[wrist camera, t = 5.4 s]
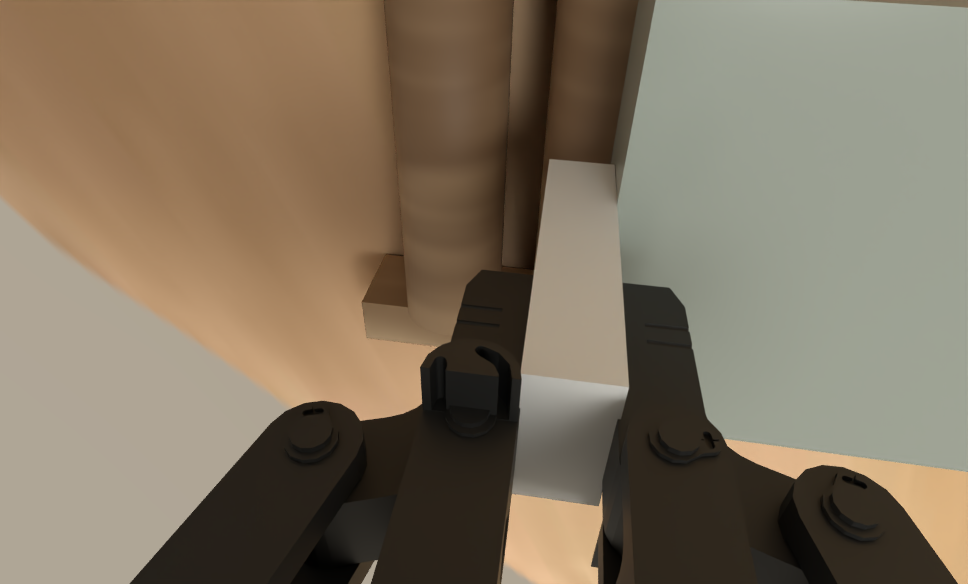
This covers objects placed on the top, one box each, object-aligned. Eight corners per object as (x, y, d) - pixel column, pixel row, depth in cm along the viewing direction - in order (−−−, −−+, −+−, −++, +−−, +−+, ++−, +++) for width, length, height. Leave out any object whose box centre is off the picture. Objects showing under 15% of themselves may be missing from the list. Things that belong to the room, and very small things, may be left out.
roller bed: (340, -192, 14) (267, -197, 11) (1436, -169, 11) (1736, -167, 8) (389, 289, 23) (356, 360, 20) (1016, 358, 20) (1089, 452, 17)
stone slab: (645, -45, 11) (658, -11, 9) (1361, -5, 10) (1590, 45, 8) (580, 340, 18) (576, 418, 15) (1019, 393, 16) (1089, 488, 14)
